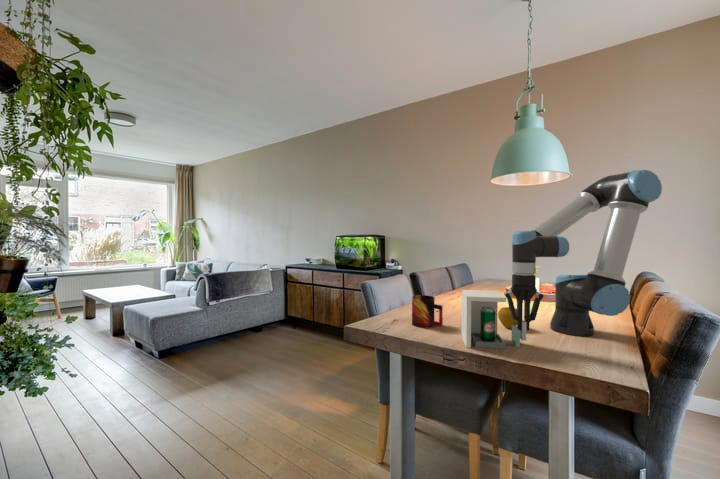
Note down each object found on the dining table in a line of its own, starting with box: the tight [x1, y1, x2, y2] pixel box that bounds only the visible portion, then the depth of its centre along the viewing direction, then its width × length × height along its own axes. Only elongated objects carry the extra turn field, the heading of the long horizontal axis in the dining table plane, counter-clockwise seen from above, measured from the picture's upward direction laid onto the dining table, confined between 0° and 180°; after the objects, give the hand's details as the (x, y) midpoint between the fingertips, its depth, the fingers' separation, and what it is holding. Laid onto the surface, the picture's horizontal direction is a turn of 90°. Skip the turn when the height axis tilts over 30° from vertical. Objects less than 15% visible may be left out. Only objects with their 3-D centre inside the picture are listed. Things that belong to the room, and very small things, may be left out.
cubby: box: [461, 289, 507, 349], centre depth 120 cm, size 13×13×18 cm
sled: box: [471, 325, 521, 349], centre depth 120 cm, size 15×10×6 cm
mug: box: [411, 294, 444, 329], centre depth 143 cm, size 10×14×12 cm
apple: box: [497, 306, 517, 330], centre depth 139 cm, size 9×9×9 cm
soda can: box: [480, 307, 495, 342], centre depth 120 cm, size 5×5×12 cm
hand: (523, 339), depth 118 cm, fingers closed
